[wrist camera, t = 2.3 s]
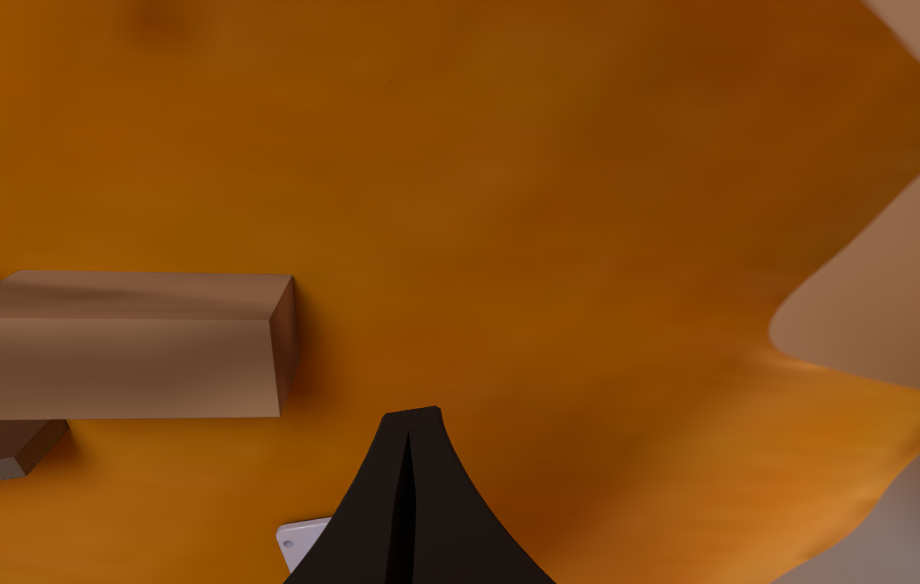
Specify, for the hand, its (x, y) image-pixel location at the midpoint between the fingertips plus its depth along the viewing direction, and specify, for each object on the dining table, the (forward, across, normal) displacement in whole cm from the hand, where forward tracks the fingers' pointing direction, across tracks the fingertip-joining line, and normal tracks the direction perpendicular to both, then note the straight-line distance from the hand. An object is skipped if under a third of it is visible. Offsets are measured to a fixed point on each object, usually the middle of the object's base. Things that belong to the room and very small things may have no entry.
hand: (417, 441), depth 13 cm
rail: (+10, +10, 0) cm, 14 cm away
